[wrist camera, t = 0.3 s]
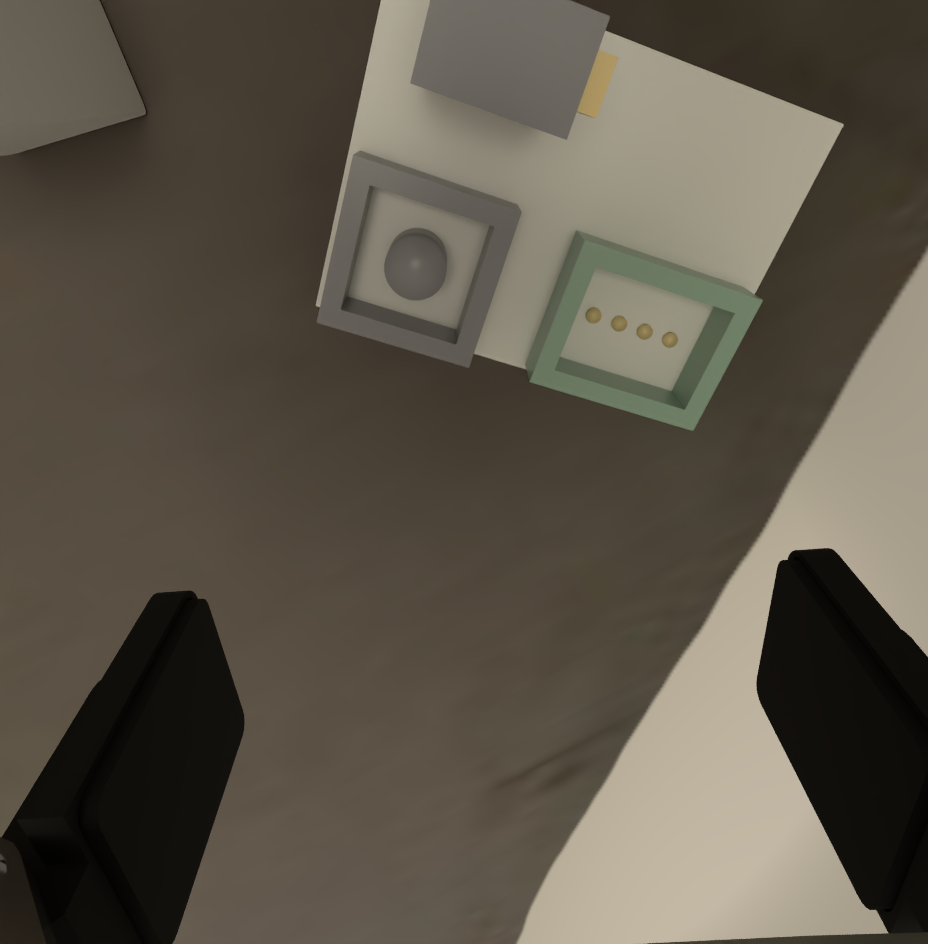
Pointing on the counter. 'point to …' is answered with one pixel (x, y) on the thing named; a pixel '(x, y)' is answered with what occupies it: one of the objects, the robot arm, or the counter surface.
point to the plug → (517, 59)
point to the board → (556, 207)
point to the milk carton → (60, 73)
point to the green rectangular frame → (640, 333)
